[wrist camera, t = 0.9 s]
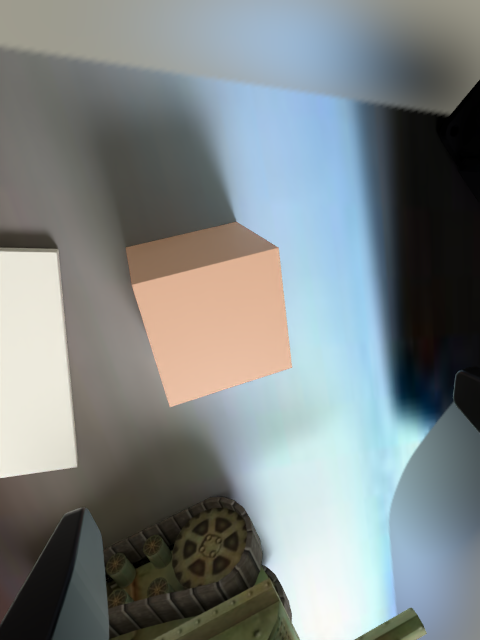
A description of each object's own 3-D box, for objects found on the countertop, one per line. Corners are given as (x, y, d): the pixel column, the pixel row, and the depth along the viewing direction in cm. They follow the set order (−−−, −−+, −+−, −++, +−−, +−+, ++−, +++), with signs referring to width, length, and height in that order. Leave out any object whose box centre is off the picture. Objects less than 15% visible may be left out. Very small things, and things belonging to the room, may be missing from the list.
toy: (343, 527, 30) (438, 684, 21) (119, 645, 27) (123, 877, 19) (320, 441, 25) (431, 599, 16) (45, 575, 23) (5, 844, 14)
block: (235, 221, 17) (278, 247, 13) (251, 317, 20) (291, 367, 15) (125, 247, 16) (131, 284, 12) (155, 345, 19) (169, 406, 14)
